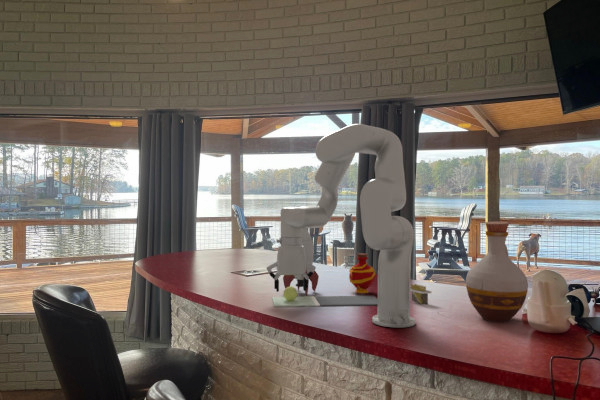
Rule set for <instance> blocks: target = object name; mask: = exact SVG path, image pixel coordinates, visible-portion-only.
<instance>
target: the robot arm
mask: <svg viewBox="0 0 600 400" xmlns="http://www.w3.org/2000/svg"><path fill="white" fill-rule="evenodd" d="M401 142H402V141H401V139H400V137H398V136H397V135H396V134H395V133H394V132H393V131H391V130H388V129H385V128H382V127H377V126H373V125H367V124H364V123H363V124H362V123H353V124H350V125H347V126H344V127H343V128H340V129H337V130H335V131H334V132H331V133H329V134H327V135H325V136H323V137H322V138H321V139H319V141H318V142H317V144H316V147H315V156H316V158H317V159H318V161H320V166H319V167H318V169H317V171H316V173H315V175H314V181H315V182H316V183H317V185H319V186H320V187H321V190H322V191H321V196H320V199H319V200H318V202H317V204H316V205H315V206H285V207H282V208H281V209H280V237H279V238H276V244H277V243H278V244H279V245H278V247H277V254H276V262H273V263H272V264H270V265H268V266H266V270H267V272H268V274H269V276H270V277H271V278H272V279H273V280H274V290H276V292H277V293H278V292H279V291H280V280H279V278H280V277H281V276H284V275H303V276H304V279H303V287H302V288H303V289H302V290H303V291H304V292H305V291H306V288H308V289H309V285H308V279H309V278H310V277H311V276H312V275H313V272H314V271H316V266H315V265H314V264H312V265H311V264H309V263H307V262H306V256H305V248H304V246H302V229H307V230H309V229H318V228H323V227H324V226H326V225H327V224H328V223H329V222H330V220H331V218H332V216H333V215H334V213H335V211H336V209H337V206H338V202H339V201H338V198H339V191H338V188H339V186H340V184H341V182H342V180H343V179H344V177H345V175H346V173H347V171H348V169H349V168H350V165H351V163H352V161H353V160H354V157H355V155H356V153H359V154H366V155H373V156H376V159H375V163H374V173H375V178H372V179H370V180H368V181H367V182H366V183H365V184H364V185H363V187H362V189H361V191H360V194H359V195H360V197H359V207H360V217H361V231H362V236H363V239H364V241H365V244H366V245H367V246H368V247H369V248H370V249H372V250H375V251H379V255H378V260H377V299H378V305H376V307H377V309H376V310H377V314H375V315H373V316H372V317H371V319H372V320H371V322H372V323H373V324H375V325H377V326H380V327H387V328H397V329H398V328H399V329H400V328H411V327H413V326H414V325H416V319H415V318H414V317H413V316H411V291H410V287H411V271H412V270H411V269H412V268H411V266H412V265H411V263H412V252H413V251H412V250H413V245H414V239H415V238H414V237H415V231H414V227H413V225H412V224H411V222H410V221H409V220H408V219H407V218H405V217H403V216H399V215H392V212H396V211H399V210H401V209H403V208H404V207H405V205H406V202H407V191H406V190H407V188H406V178H405V169H404V157H403V153H404V152H403V144H402V143H401ZM306 266H307V267H309V268H311V270H310V272H309V273H308V274H306ZM274 268H276V273H274V272H273V271H272V270H273V269H274ZM309 280H310V279H309Z"/></svg>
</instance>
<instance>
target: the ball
mask: <svg viewBox="0 0 600 400" xmlns="http://www.w3.org/2000/svg"><path fill="white" fill-rule="evenodd" d="M298 293H299V292H298V289H296V288H295V287H294V286H290V287H287V288H286V289H285V288H284V290H283V297H284V298H285V299H286V300H288V301H293V300H295V299H296V298H297V297H298Z"/></svg>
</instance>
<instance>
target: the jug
mask: <svg viewBox="0 0 600 400" xmlns="http://www.w3.org/2000/svg"><path fill="white" fill-rule="evenodd" d="M509 224H510V223H509V222H508V221H487V222H485V226H486V227H485V228H486V229H487V231H485V236H487V241H488V251H487V254H486V255H484V256H483V257H482V258H481V259H480V260H479V261H478V262H477V263H476V264H475V265H473V266H472V267H471V268H470V269H469V271H468V272H467V274H466V278H465V286H466V292H467V296H468V298H469V301H470V303H471V305H472V307H474V309H475V310H476V312H477V313H478V315H479V316H480V317H481V318H482V319H483V320H485V321H489V322H495V323H496V322H497V323H506V322H510V321H511V320H512V319H513V318H514V317H515V316H516V315H517V313H518V312H519V311H521V309H522V308H523V305H524V304H525V301H526V298H527V295H528V289H529V282H528V278H527V276H526V274H525V273H524V271H523V270H521V268H520V267H519V266H517V264H515V262H514V261H512V260H511V258H510V257H509V252H508V250H509V249H508V247H507V244H506V240H507V237H508V235H509V231H507V230H508V227H509Z"/></svg>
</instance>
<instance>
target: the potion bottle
mask: <svg viewBox="0 0 600 400" xmlns="http://www.w3.org/2000/svg"><path fill="white" fill-rule="evenodd" d="M368 255H369V254H368V253H364V252H361V253H360V252H359V253H357V256H356V259H357V260H358V262H357V263H356V264H355V265H352V266H351V268H350V269H349V271H348V272H349V277H348V279H349V283H351V285H353V286H354V287H355V288H356V289H355V291H354V292H355V293H358V294H368V293H369V291H368V289H369V288H370V287H371V286H372V285H373V283H374V282H375V279H376V271H375V269H374V267H373V266H371V265H369V264H368V262H367V261H368V259H369V257H368Z"/></svg>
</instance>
